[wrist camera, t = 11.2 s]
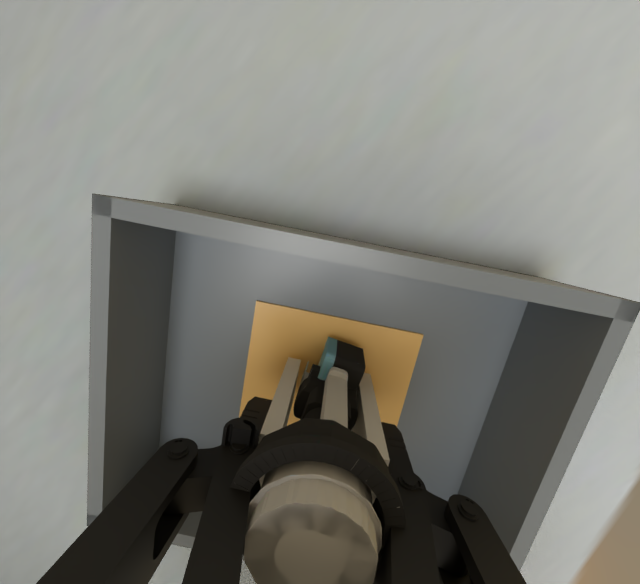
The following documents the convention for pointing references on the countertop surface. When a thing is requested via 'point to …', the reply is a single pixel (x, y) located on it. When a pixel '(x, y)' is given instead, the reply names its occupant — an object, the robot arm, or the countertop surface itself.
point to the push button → (319, 486)
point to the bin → (347, 326)
